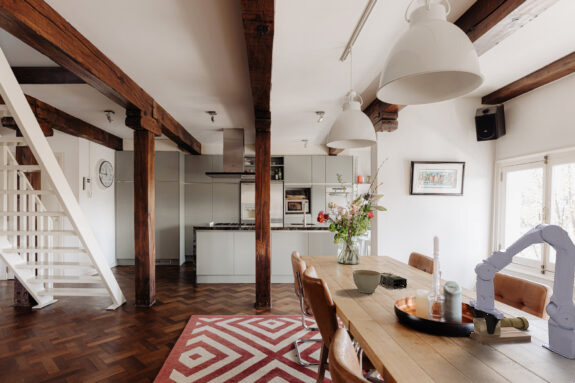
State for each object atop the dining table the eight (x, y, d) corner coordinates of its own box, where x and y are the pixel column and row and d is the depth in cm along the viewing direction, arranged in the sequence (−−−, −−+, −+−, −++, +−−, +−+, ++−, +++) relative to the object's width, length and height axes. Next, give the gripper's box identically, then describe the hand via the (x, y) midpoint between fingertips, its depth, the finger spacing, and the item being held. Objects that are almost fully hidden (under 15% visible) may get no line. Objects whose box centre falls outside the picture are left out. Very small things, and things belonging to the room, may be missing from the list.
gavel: (470, 305, 144) (490, 305, 144) (471, 315, 143) (490, 315, 144) (506, 319, 123) (528, 318, 124) (507, 331, 122) (529, 330, 123)
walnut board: (531, 341, 113) (530, 335, 113) (482, 344, 111) (482, 338, 111) (512, 332, 121) (512, 327, 121) (466, 334, 119) (466, 329, 119)
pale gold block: (500, 334, 114) (500, 321, 114) (480, 336, 113) (480, 322, 113) (492, 330, 118) (491, 317, 118) (472, 331, 117) (472, 318, 117)
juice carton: (375, 281, 202) (375, 271, 203) (388, 280, 205) (389, 271, 205) (393, 289, 183) (393, 279, 183) (407, 288, 185) (407, 278, 186)
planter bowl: (376, 297, 167) (376, 277, 167) (348, 292, 175) (348, 273, 176) (384, 289, 181) (383, 271, 181) (357, 286, 189) (357, 268, 189)
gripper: (462, 290, 123) (463, 324, 122) (490, 301, 108) (491, 340, 108) (478, 289, 123) (479, 323, 123) (508, 300, 109) (509, 339, 108)
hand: (486, 331), depth 115 cm, fingers closed on pale gold block, 4 cm apart
